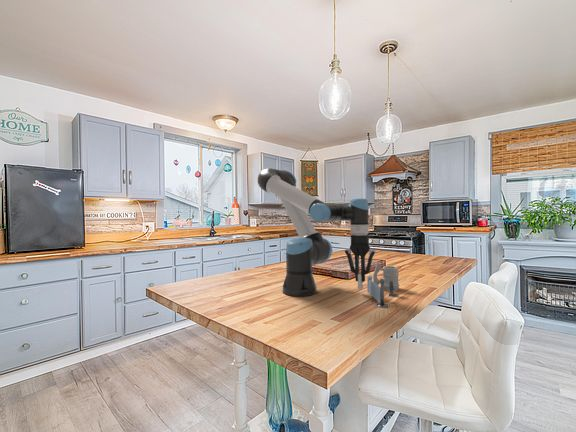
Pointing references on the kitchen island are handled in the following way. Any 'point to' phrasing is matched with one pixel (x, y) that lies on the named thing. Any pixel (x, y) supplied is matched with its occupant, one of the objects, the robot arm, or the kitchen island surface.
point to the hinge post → (382, 295)
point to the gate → (373, 288)
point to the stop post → (392, 289)
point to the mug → (387, 276)
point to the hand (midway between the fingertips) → (360, 289)
